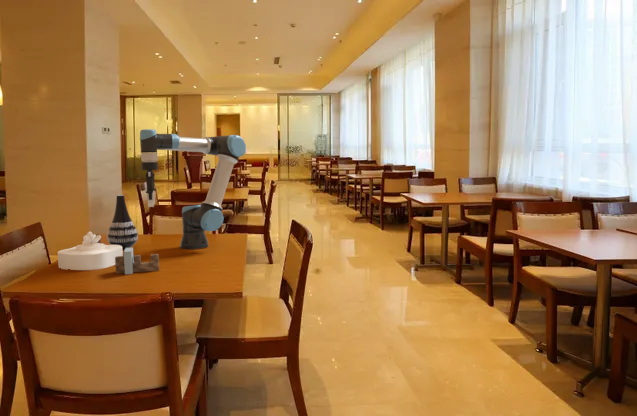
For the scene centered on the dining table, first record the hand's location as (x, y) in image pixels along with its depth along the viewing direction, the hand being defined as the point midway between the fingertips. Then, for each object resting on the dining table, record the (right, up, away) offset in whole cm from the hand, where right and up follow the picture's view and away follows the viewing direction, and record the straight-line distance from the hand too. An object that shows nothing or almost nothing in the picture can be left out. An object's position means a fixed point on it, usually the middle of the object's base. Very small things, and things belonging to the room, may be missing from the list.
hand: (151, 205), depth 257 cm
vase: (-26, -24, +34) cm, 49 cm away
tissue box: (-27, -28, -5) cm, 40 cm away
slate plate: (-2, -30, -23) cm, 38 cm away
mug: (-36, -26, +16) cm, 47 cm away
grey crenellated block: (+1, -29, -23) cm, 37 cm away
